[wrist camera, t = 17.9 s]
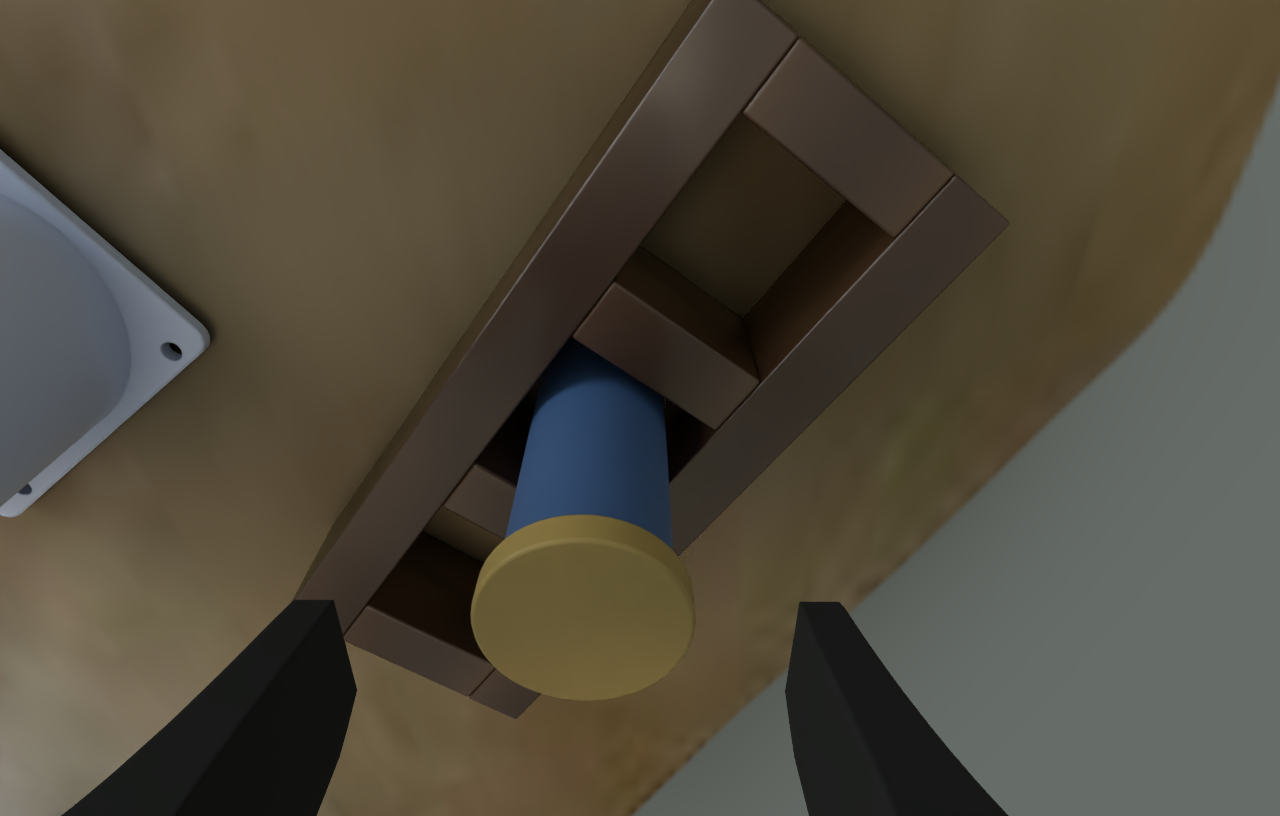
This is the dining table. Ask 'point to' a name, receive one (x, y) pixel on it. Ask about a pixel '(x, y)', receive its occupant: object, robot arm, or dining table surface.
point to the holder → (654, 327)
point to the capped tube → (588, 543)
